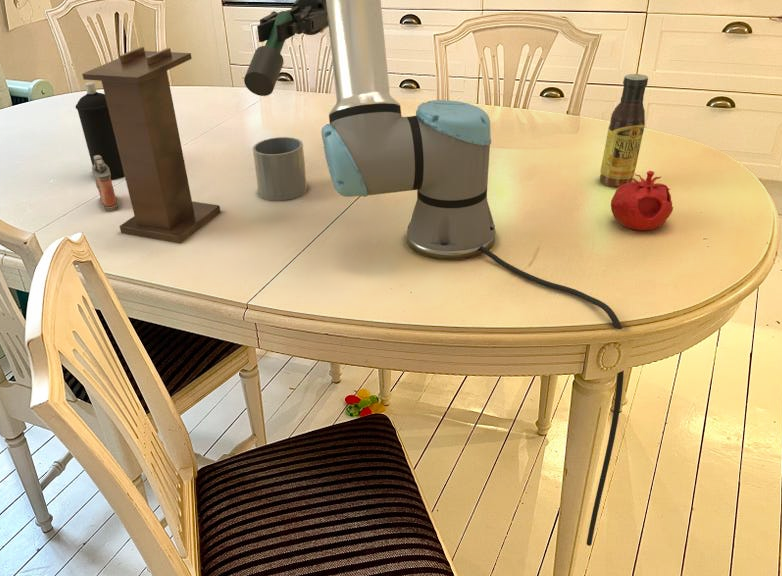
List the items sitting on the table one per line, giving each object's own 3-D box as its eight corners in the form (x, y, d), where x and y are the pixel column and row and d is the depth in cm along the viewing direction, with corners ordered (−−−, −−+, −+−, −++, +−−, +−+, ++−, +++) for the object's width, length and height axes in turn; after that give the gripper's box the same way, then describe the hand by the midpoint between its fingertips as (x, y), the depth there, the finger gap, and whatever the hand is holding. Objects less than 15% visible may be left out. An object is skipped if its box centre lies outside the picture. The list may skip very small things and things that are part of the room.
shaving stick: (276, 30, 140) (267, 5, 136) (302, 29, 138) (294, 4, 134) (249, 96, 133) (239, 72, 129) (277, 96, 131) (268, 71, 127)
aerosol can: (121, 180, 165) (98, 88, 153) (87, 180, 166) (62, 89, 155) (136, 166, 171) (115, 77, 159) (103, 166, 173) (80, 78, 161)
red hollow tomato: (596, 221, 131) (603, 170, 126) (636, 205, 135) (645, 156, 129) (641, 241, 124) (651, 189, 119) (682, 224, 128) (694, 173, 122)
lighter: (98, 198, 157) (86, 153, 151) (114, 195, 158) (103, 149, 152) (104, 212, 151) (91, 165, 145) (121, 209, 152) (109, 162, 146)
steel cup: (315, 192, 151) (311, 147, 146) (270, 204, 148) (265, 159, 142) (293, 177, 159) (289, 133, 153) (251, 188, 155) (245, 144, 150)
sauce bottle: (608, 190, 141) (625, 83, 130) (593, 178, 146) (608, 74, 135) (640, 185, 142) (660, 79, 130) (624, 173, 147) (642, 70, 135)
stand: (165, 202, 153) (131, 43, 135) (222, 211, 147) (194, 45, 129) (119, 234, 142) (75, 65, 124) (178, 244, 137) (141, 69, 118)
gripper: (353, 31, 149) (313, 55, 131) (280, 33, 154) (231, 56, 136) (351, -11, 145) (309, 9, 127) (276, -7, 150) (225, 12, 132)
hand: (269, 33), depth 132 cm, fingers closed on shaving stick, 3 cm apart
